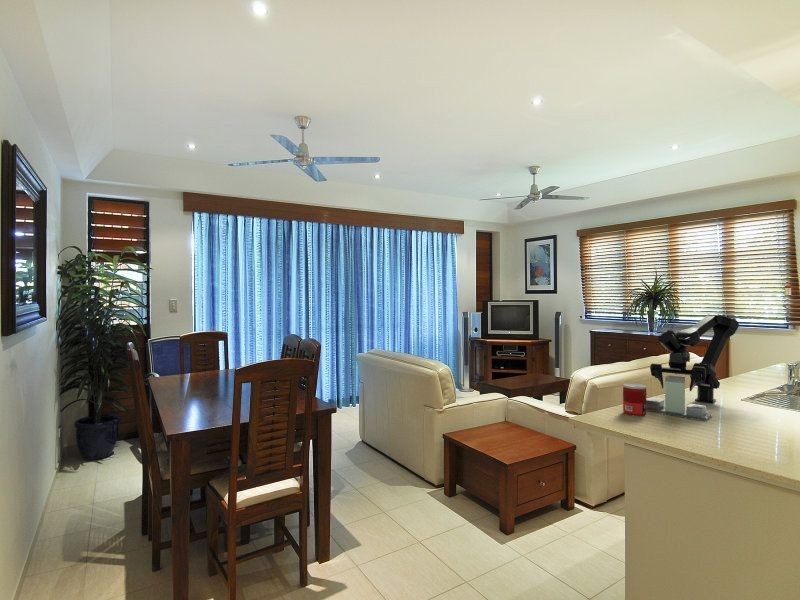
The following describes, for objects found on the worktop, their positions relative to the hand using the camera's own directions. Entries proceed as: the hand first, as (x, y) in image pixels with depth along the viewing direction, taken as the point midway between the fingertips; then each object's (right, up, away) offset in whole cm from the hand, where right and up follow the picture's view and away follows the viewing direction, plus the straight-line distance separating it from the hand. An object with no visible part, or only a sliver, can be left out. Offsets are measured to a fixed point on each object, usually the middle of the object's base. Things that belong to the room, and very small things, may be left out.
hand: (676, 389), depth 174 cm
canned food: (-17, -9, -1) cm, 20 cm away
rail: (-1, -9, -2) cm, 9 cm away
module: (-2, -8, -2) cm, 8 cm away
